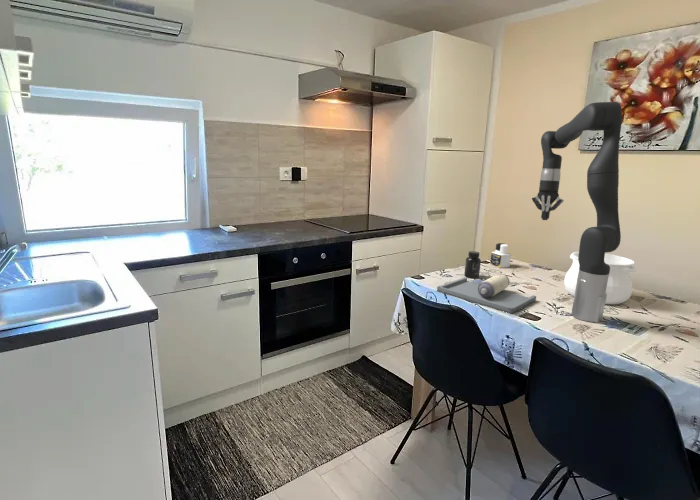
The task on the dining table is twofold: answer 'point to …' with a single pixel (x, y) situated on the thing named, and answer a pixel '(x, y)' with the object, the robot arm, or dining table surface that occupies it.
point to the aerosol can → (493, 285)
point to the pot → (617, 280)
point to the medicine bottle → (500, 256)
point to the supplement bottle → (472, 265)
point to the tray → (499, 301)
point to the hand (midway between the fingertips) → (544, 219)
